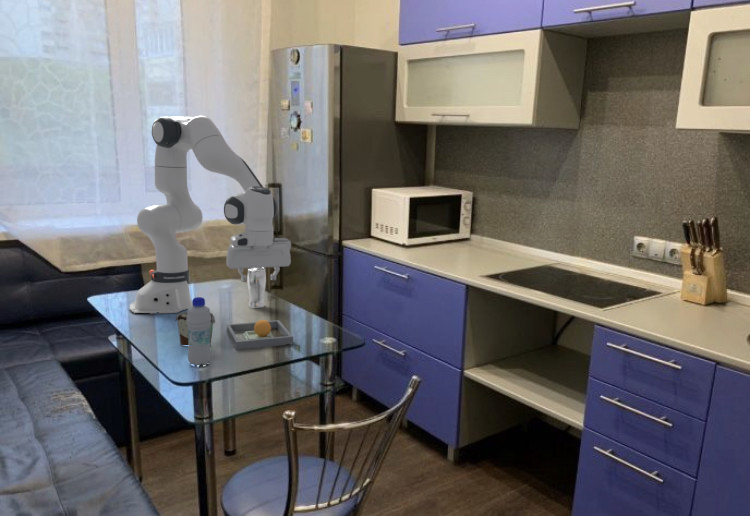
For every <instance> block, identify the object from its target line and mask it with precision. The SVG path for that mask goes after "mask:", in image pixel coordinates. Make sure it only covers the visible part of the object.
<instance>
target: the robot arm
mask: <svg viewBox="0 0 750 516" xmlns="http://www.w3.org/2000/svg"><path fill="white" fill-rule="evenodd" d="M151 136H152V138H153V141H154V143H155V144H156V147H155V154H154V186H155V189H157V191H159V192H160V193H162V194H163V195H164V196H165V199H166V204H156V205H154V204H153V205H151V206H147V207H144V208H142V209H140V211H139V212H138V215H137V218H136V223H137V227H138V229H139V230H140V232H141V233H142V234H144V235H145V236H147V238H148V239H150V241H151V243H152V245H153V247H154V252H155V260H156V270H154V269H150V270H149V275H150V279H151V280H150V281H148V282H147V283H146V284H145V285H144V286H142V287H141V288H140V289H138V290H137V293H136V296H135V300H134V301H133V302H131V303H130V304H129V311H130V310H131V311H132V312H134V313H133V314H135V313H150V314H156V313H155V312H159V313H158V314H179V313H181V312H182V311H185V310H188V309H189V308H190V307H192V306H193V304H192V301H193V299H192V298H191V292H190V276H191V275H190V270H189V267H188V265H189V264H188V250H187V248H186V246H184V245H183V244H181V243H179V242H178V239H177V237H176V234H180V233H186V232H190V231H192V230H195V229H197V228H200V226H201V224H202V222H203V212H202V210H201V208H200V207H199V206H198V205H197V204H196V203H195V202H194V200H193V199H192V197H191V195H190V191H189V188H188V159H187V157H188V152H189V151H190V150H192V152H193V154H194V157H195V158H196V160H197V162H198V163H199V165H201V167H203V168H204V169H205V170H206V171H209V172H211V173H216V174H220V175H223V176H227V177H229V178H232V179H233V180H235V181H236V182H237V183H238V184H239V185H240V187H241V188H242V189H243V192H241V193H239V194H238V193H237V194H235V195H231V196H229V197H228V198H227V199H226V200H225V202H224V205H223V215H224V217H225V219H226V220H227V222H228V223H230V224H231V225H234V226H235V225H237V226H241V225H244V226H245V228H244V232H240V233H239V234H238V233H237V234H235V235H232V236H230V238H229V240H230V245H229V246H228V247H227V252H226V260H225V261H226V266H227V267H228V268H229V269H230V270H234V269H236V270H237V271H238V273H239V276H241V277H240V278H241V283H244V282H245V283H246V282H247V276H248V275H246V274H245V275H244V273H243V272H244V269H248V268H262V267H263V268H273V269H274V271H273V273H271V274H270V281H277V275H278V274H279V272H280V270H281V269H280V268H281V267H289V266H290V265H291V262H292V261H291V249H292V243H291V240H290V239H288V238H287V237H282V238H281V237H274V226H273V221H274V219H276V216H277V213H278V203H277V201H276V199H275V198H274V196H273V193H272V190H270V189H269V188H267V187H264V186H263V184H262V183H261V182H260V180H259V179H258V178H257V176H256V174H255V173H254V171H253V170H252V169H251V168H250V166H249V165H248V164H247V162H246V161H245V160H244V159H243V158H242V157H241V156H239V155H238V154H237V153H236V152H235V151H234V150H232V148H231V147H230V146H229V145H228V143H227V141H226V139H225V138H224V136H223V134H222V132H221V131H220V130H219V128H218V127H217V125H216V124H215V123H214V122H213V121H212V119H211V118H209V117H208V116H204V115H197V116H193V117H192V116H185V115H184V116H160V117H158V118H156V119H155V120H154V122H153V123H152V126H151ZM131 311H130V312H131ZM132 312H131V313H132Z"/></svg>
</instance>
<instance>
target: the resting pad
mask: <svg viewBox="0 0 750 516" xmlns="http://www.w3.org/2000/svg"><path fill="white" fill-rule="evenodd" d="M242 336H243V338H244V340H252V339H263V338H273V337H274V335H273V334H272V333H271V332H270V333H269V334H268V335H267V336H264V337H260V336H258V335H257V334H256V333H255V331H254V330H251V331H244V333H242Z"/></svg>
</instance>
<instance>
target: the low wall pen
mask: <svg viewBox="0 0 750 516" xmlns="http://www.w3.org/2000/svg"><path fill="white" fill-rule="evenodd" d="M267 321H268V322H269V323H270V325H271V330H272V329H277V330H278V332H279V333H280V334H281V335H282V336H275V337H274V336H273V338H263V339H252V340H245V339H244V340H243V339H242V340H239V339H238V337H237V335H236V333H238V332H246V331H254V326H255V324H256V322H257V321H253V322H252V321H251V322H242V323H230V324H229V323H228V324H226V326H225V327H226V329H225V330H226V333H227V336H228V338H229V339H230V341H231V343H232V344H233V346H234V349H235V350H236V351H237V350H247V349H249V350H250V349H258V348H269V347H276V346H277V347H278V346H287V345H286V344H289V345H292V344H291V343H293V344H294V336H293V335H292V333H291V332H290V331H289V330H288V329H287V328H286V327H285V325H284V324H283V323H282V322H281V321H280V319H277V320H267Z"/></svg>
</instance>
